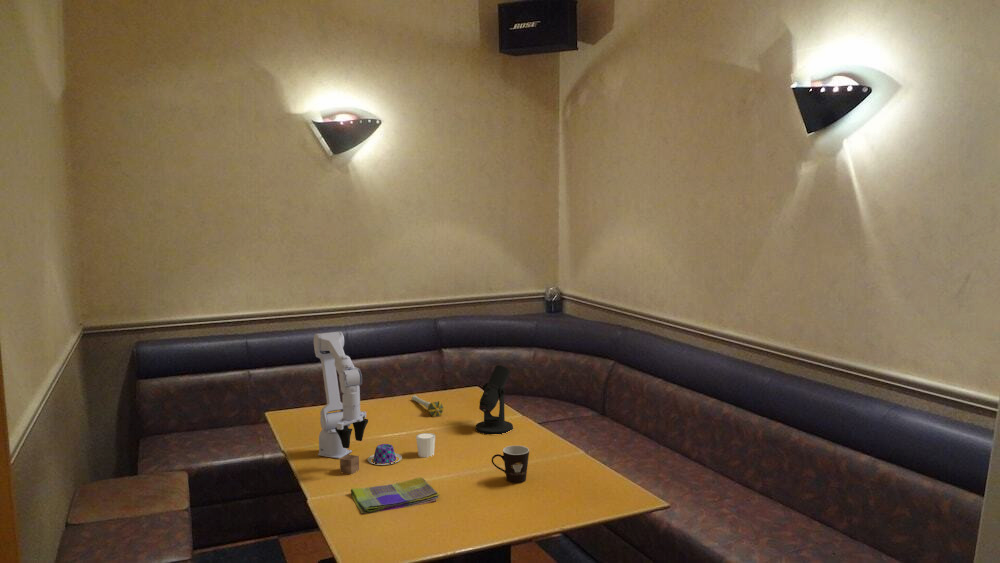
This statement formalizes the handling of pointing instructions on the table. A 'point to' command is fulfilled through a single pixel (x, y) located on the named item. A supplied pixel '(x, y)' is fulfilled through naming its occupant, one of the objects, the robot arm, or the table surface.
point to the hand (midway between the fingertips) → (352, 444)
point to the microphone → (494, 403)
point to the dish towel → (394, 496)
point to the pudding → (384, 455)
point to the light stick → (431, 406)
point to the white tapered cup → (425, 444)
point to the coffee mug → (514, 463)
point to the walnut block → (349, 464)
